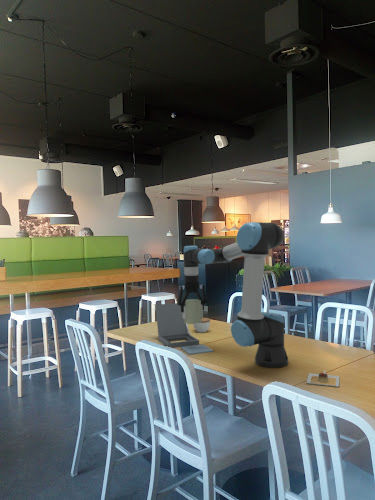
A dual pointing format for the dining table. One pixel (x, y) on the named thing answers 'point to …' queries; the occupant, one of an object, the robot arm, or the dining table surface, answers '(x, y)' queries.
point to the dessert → (323, 378)
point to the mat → (196, 349)
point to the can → (193, 311)
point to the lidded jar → (202, 325)
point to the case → (173, 326)
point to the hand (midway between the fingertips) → (192, 317)
